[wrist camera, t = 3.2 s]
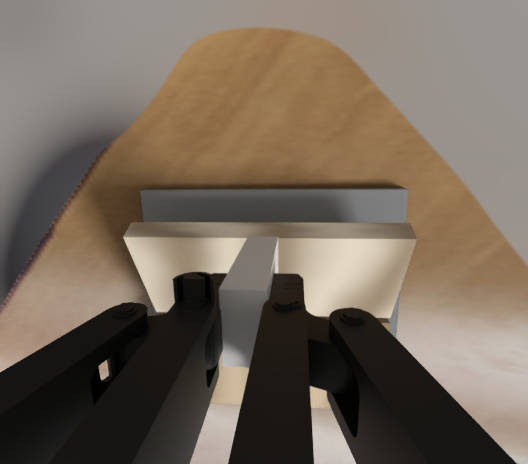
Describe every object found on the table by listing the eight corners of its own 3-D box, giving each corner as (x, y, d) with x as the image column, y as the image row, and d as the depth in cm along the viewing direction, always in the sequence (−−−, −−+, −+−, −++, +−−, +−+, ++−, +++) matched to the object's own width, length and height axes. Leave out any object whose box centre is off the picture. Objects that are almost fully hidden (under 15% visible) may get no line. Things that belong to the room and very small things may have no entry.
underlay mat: (164, 389, 31) (160, 397, 30) (145, 189, 27) (140, 190, 26) (386, 399, 29) (390, 408, 28) (404, 188, 25) (408, 189, 24)
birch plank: (161, 296, 28) (156, 312, 27) (131, 222, 22) (123, 237, 21) (386, 301, 26) (390, 318, 25) (410, 222, 21) (416, 239, 20)
